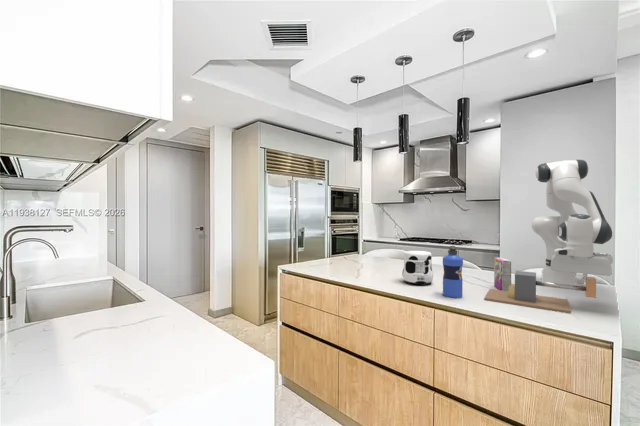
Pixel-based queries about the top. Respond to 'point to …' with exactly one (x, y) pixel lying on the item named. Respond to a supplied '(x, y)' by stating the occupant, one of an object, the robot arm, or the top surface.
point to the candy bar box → (502, 273)
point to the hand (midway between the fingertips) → (579, 283)
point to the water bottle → (452, 274)
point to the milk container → (417, 267)
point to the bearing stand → (528, 295)
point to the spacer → (512, 291)
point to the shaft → (575, 286)
